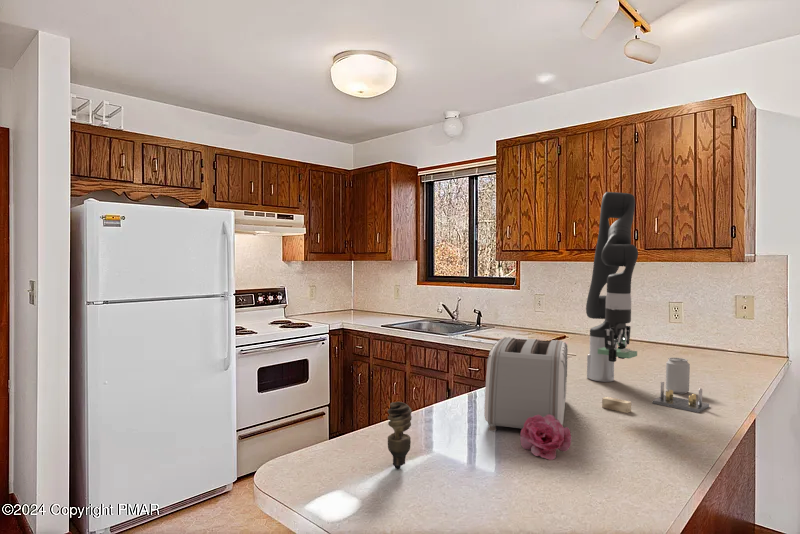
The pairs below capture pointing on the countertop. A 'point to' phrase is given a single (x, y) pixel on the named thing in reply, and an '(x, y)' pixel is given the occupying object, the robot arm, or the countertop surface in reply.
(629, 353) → the board
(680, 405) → the chassis
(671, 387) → the can
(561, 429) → the flower
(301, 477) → the countertop surface
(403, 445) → the light bulb
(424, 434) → the countertop surface
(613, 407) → the beige wooden block
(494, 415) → the toaster
